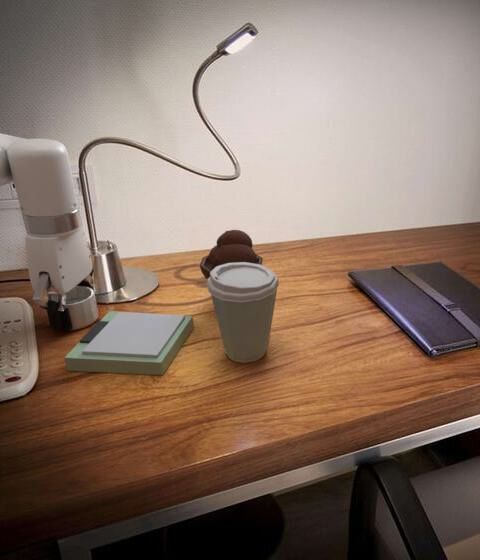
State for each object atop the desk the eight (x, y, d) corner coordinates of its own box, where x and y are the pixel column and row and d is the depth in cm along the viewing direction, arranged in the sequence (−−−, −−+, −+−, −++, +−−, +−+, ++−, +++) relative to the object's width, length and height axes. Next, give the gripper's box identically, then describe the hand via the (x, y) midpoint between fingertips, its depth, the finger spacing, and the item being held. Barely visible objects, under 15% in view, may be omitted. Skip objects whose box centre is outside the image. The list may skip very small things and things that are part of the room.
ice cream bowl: (199, 298, 101) (192, 225, 95) (258, 290, 106) (255, 220, 100) (208, 325, 93) (201, 247, 86) (271, 315, 98) (269, 240, 91)
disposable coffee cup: (261, 329, 93) (257, 252, 87) (293, 357, 86) (292, 276, 80) (202, 348, 87) (194, 266, 80) (232, 381, 80) (225, 294, 73)
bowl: (42, 330, 87) (35, 304, 85) (66, 309, 94) (60, 284, 91) (86, 332, 88) (80, 306, 86) (106, 312, 94) (101, 287, 92)
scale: (67, 370, 79) (63, 354, 77) (111, 322, 91) (108, 307, 90) (163, 375, 80) (160, 359, 78) (194, 327, 92) (192, 312, 91)
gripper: (59, 201, 90) (79, 292, 98) (-10, 239, 75) (20, 344, 82) (104, 204, 91) (120, 295, 99) (45, 242, 75) (70, 346, 83)
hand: (74, 316), depth 90 cm, fingers closed on bowl, 7 cm apart
